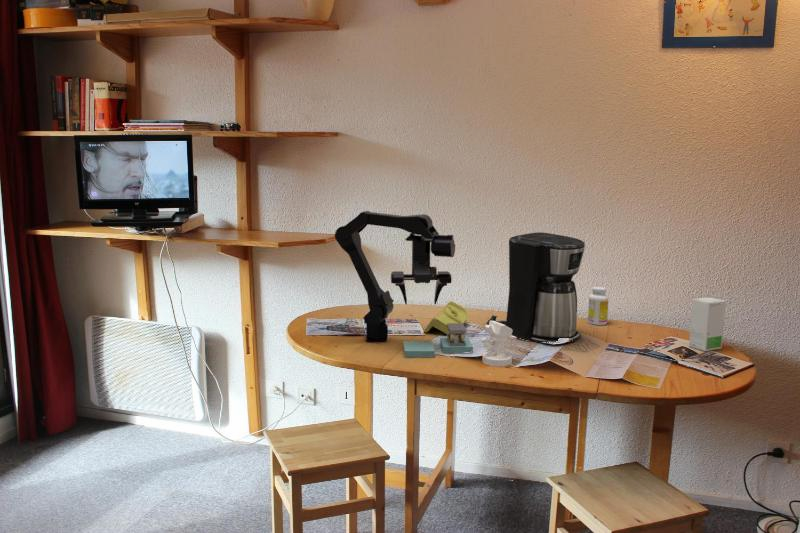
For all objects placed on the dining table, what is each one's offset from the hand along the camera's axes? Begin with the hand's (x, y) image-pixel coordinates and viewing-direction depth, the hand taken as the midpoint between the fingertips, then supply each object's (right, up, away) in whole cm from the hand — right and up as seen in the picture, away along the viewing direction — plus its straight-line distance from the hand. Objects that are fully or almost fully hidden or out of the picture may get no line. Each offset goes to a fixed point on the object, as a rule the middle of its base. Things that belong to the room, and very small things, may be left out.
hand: (420, 304), depth 213 cm
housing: (+11, -12, -3) cm, 16 cm away
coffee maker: (+40, -11, +17) cm, 45 cm away
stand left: (-1, -14, -6) cm, 16 cm away
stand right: (+11, -14, -2) cm, 18 cm away
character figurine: (+23, -16, -14) cm, 31 cm away
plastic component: (+10, -10, +20) cm, 25 cm away
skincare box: (+90, -14, +1) cm, 91 cm away
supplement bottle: (+64, -9, +28) cm, 71 cm away
